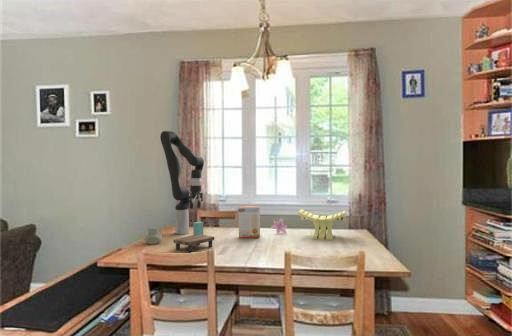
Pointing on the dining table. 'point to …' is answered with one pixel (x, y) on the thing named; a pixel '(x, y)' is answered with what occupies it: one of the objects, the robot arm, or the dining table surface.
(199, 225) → the teal post
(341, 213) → the slatted curved stool
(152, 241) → the air freshener
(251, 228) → the cracker box
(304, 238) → the dining table surface
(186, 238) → the small wooden table
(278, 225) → the lily
